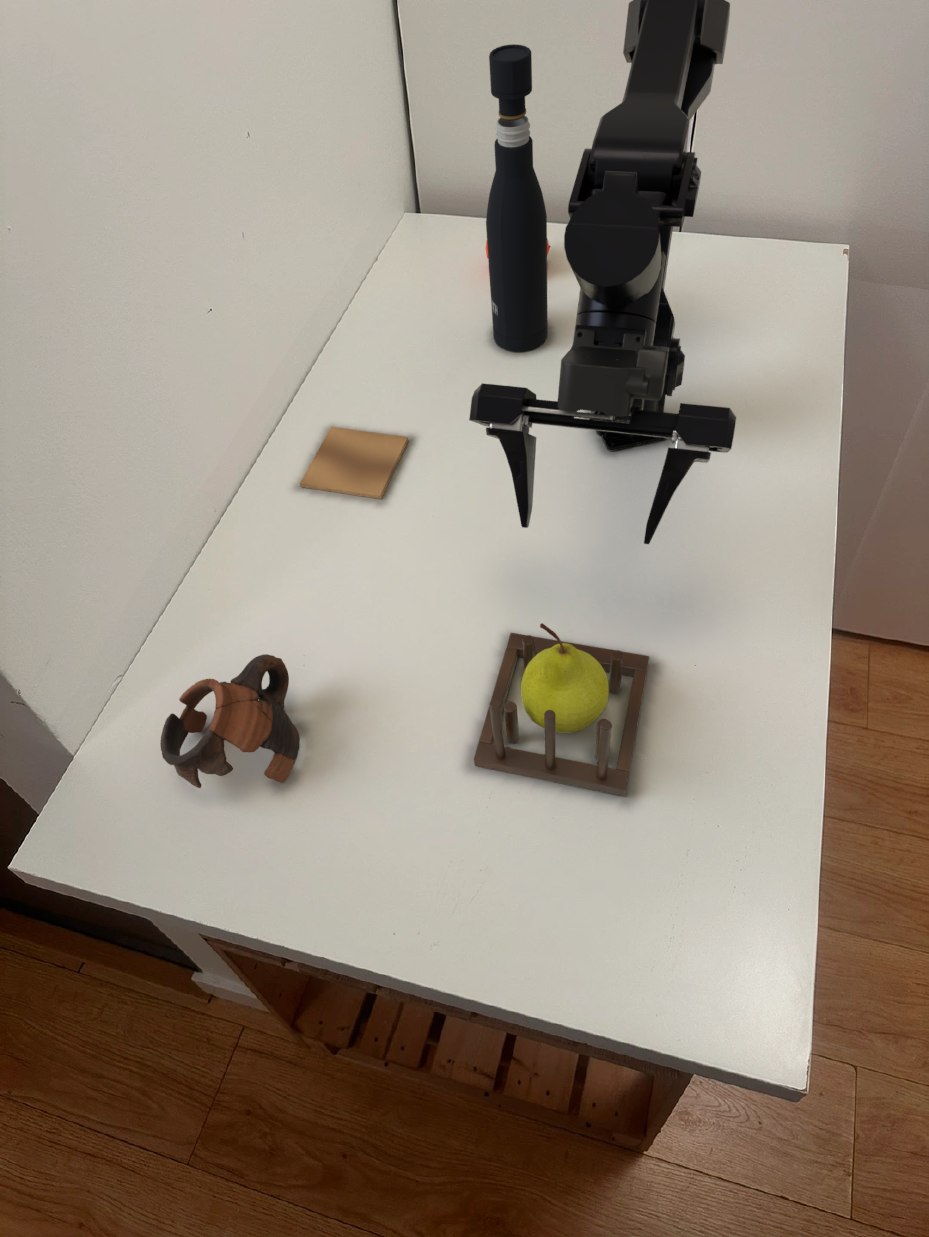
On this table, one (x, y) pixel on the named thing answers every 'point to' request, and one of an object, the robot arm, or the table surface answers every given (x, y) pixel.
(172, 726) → the broken clay pot
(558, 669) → the fruit
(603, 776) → the rack
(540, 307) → the black bottle
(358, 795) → the table surface
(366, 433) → the mat
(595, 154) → the robot arm
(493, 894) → the table surface
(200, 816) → the table surface
